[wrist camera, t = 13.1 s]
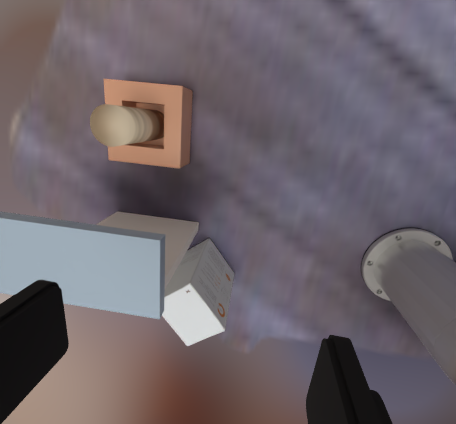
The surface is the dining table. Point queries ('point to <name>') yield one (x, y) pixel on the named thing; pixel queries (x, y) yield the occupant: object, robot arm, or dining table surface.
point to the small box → (199, 294)
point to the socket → (173, 122)
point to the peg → (126, 125)
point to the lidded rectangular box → (96, 258)
